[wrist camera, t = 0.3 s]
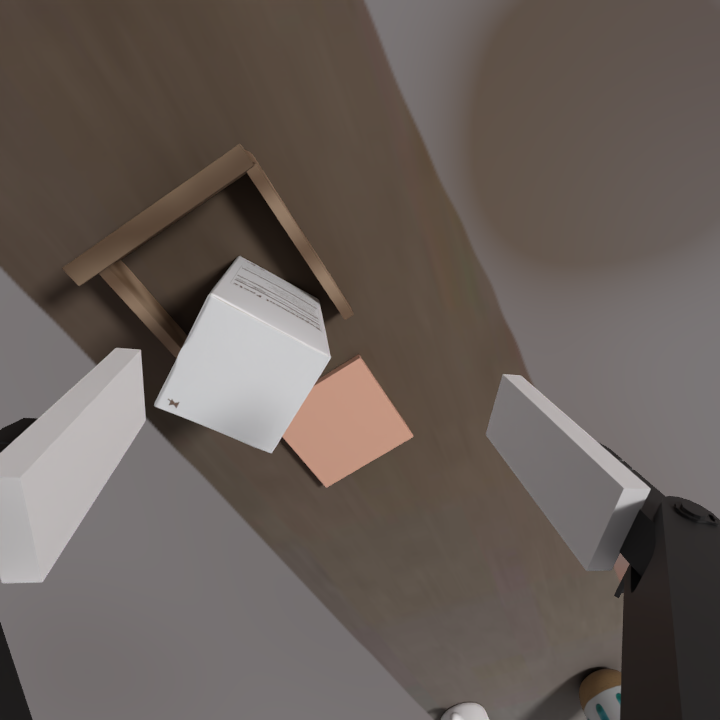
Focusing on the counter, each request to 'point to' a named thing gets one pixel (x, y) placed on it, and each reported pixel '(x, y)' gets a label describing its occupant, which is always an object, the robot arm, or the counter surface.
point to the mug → (465, 712)
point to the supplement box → (248, 357)
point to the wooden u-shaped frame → (166, 213)
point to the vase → (601, 695)
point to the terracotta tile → (345, 423)
